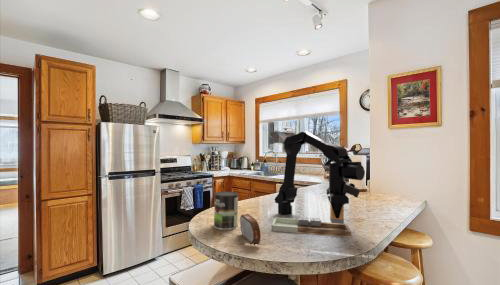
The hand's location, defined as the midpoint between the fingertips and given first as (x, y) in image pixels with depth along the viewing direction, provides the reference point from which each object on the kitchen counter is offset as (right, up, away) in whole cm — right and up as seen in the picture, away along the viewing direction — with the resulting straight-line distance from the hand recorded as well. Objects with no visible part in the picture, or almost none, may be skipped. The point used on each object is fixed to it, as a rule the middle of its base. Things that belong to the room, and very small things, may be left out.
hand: (336, 216), depth 94 cm
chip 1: (-13, -6, +3) cm, 14 cm away
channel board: (-5, -7, +1) cm, 8 cm away
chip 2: (-8, -6, +2) cm, 10 cm away
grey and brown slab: (-35, -6, -8) cm, 36 cm away
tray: (-20, -7, +4) cm, 21 cm away
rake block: (0, -2, 0) cm, 2 cm away
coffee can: (-45, -7, +7) cm, 46 cm away
